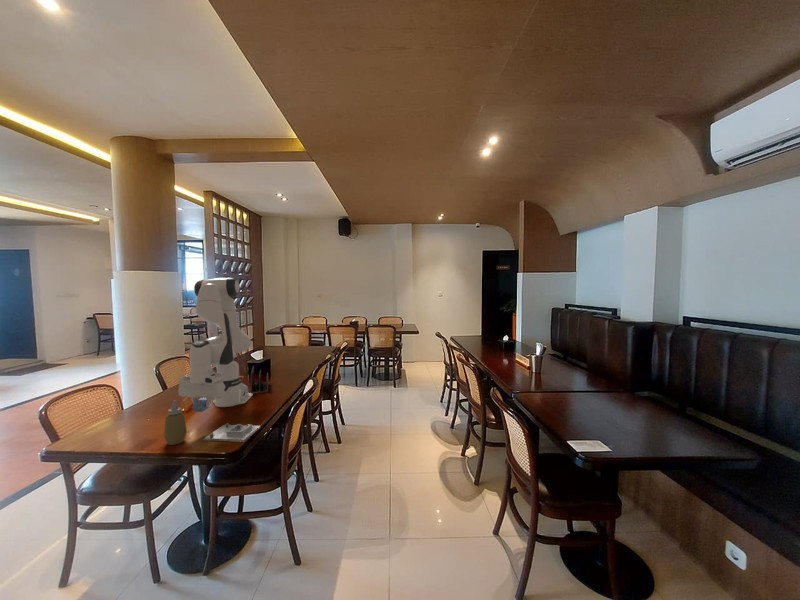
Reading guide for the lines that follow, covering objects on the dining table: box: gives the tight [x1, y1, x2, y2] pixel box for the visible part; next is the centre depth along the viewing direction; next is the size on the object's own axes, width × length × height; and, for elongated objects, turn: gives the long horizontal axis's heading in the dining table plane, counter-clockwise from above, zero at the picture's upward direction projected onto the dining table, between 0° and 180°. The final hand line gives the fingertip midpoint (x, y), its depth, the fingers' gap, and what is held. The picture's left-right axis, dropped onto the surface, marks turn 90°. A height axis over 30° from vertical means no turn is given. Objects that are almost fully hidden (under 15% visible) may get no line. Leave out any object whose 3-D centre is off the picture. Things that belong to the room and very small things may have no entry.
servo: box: [191, 397, 212, 413], centre depth 152 cm, size 8×4×4 cm, turn 175°
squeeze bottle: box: [163, 400, 188, 446], centre depth 141 cm, size 8×8×18 cm
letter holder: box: [250, 365, 270, 395], centre depth 214 cm, size 10×20×14 cm, turn 20°
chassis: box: [203, 422, 261, 443], centre depth 149 cm, size 14×18×3 cm
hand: (201, 406), depth 152 cm, fingers closed on servo, 4 cm apart
